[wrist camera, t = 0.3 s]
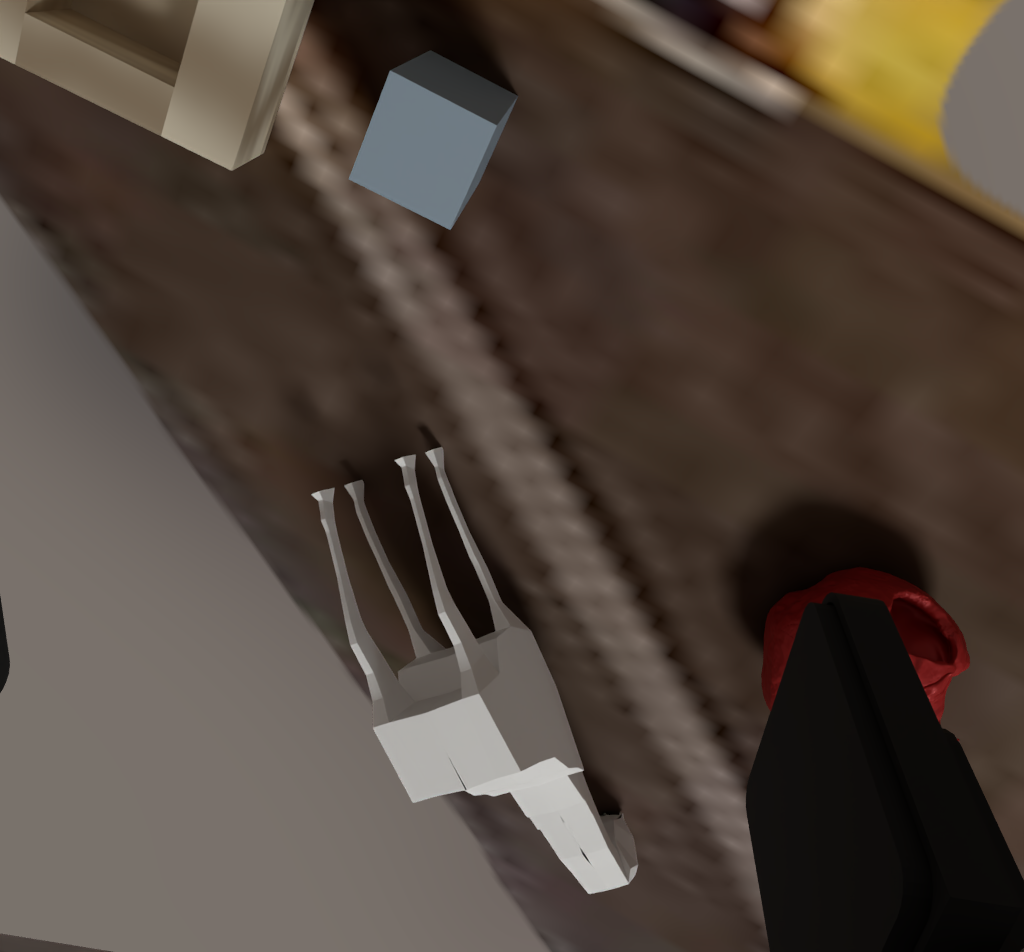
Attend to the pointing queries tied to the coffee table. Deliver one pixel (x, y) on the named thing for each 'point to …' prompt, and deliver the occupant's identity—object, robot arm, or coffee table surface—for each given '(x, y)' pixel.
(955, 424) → the coffee table surface
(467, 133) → the grey rectangular block
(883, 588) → the pomegranate
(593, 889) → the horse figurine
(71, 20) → the socket block
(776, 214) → the coffee table surface
